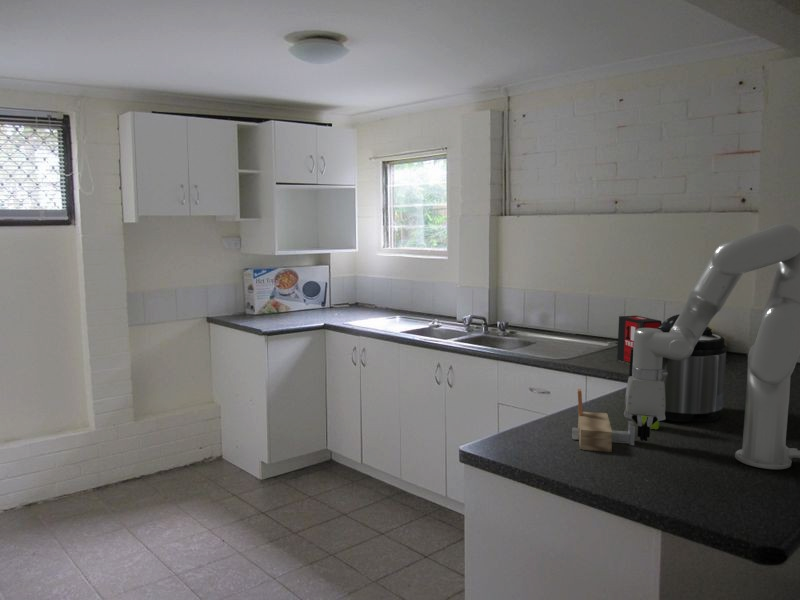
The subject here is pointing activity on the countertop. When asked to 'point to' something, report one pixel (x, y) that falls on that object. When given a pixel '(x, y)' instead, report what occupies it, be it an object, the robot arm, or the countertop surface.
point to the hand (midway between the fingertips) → (643, 439)
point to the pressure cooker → (694, 379)
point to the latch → (580, 402)
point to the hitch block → (595, 432)
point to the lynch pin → (615, 434)
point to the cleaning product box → (631, 333)
